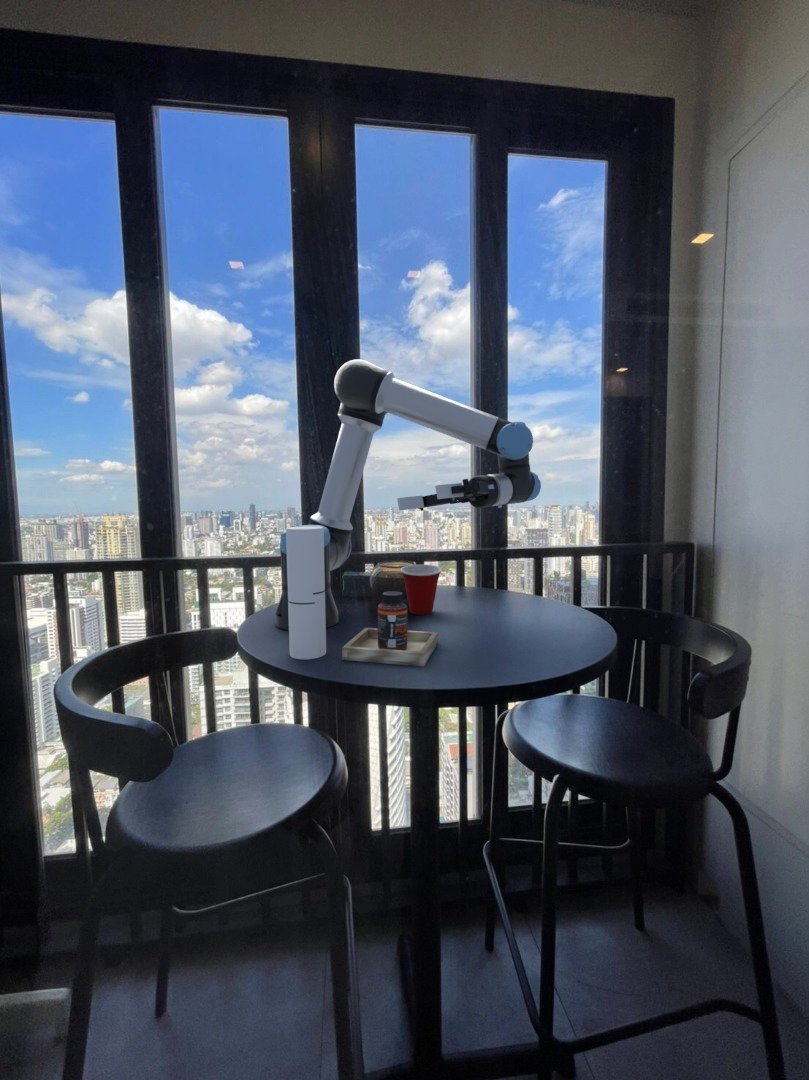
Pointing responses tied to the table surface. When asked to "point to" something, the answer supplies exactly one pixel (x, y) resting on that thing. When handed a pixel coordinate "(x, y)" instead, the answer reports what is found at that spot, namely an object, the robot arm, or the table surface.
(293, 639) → the cylindrical container
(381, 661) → the tray
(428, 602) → the plastic cup
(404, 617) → the supplement bottle
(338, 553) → the robot arm
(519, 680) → the table surface
